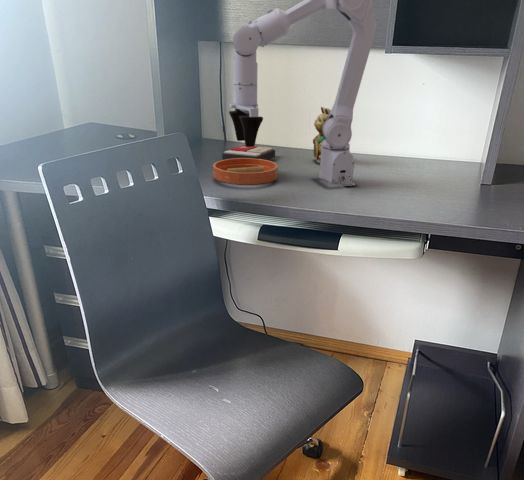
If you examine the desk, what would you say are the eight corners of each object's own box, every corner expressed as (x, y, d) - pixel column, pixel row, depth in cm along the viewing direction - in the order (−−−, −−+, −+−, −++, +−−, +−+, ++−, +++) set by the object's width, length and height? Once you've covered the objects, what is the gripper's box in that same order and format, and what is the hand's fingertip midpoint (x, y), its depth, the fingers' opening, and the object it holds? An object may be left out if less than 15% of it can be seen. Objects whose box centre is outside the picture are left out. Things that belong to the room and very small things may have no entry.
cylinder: (261, 174, 144) (261, 165, 142) (264, 176, 142) (264, 167, 141) (226, 176, 141) (226, 167, 140) (229, 178, 139) (228, 169, 138)
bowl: (286, 186, 138) (287, 170, 135) (223, 191, 133) (222, 175, 131) (265, 171, 151) (265, 156, 149) (207, 175, 146) (206, 159, 144)
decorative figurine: (308, 158, 165) (311, 105, 157) (333, 157, 167) (337, 104, 159) (319, 165, 157) (323, 110, 149) (345, 164, 159) (350, 109, 151)
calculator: (275, 147, 162) (257, 154, 149) (275, 161, 164) (257, 170, 151) (242, 143, 165) (221, 150, 153) (242, 158, 167) (221, 166, 155)
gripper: (221, 81, 135) (223, 138, 142) (238, 87, 123) (238, 150, 130) (248, 81, 137) (248, 137, 144) (267, 87, 125) (266, 148, 132)
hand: (245, 143), depth 137 cm, fingers open, 7 cm apart
